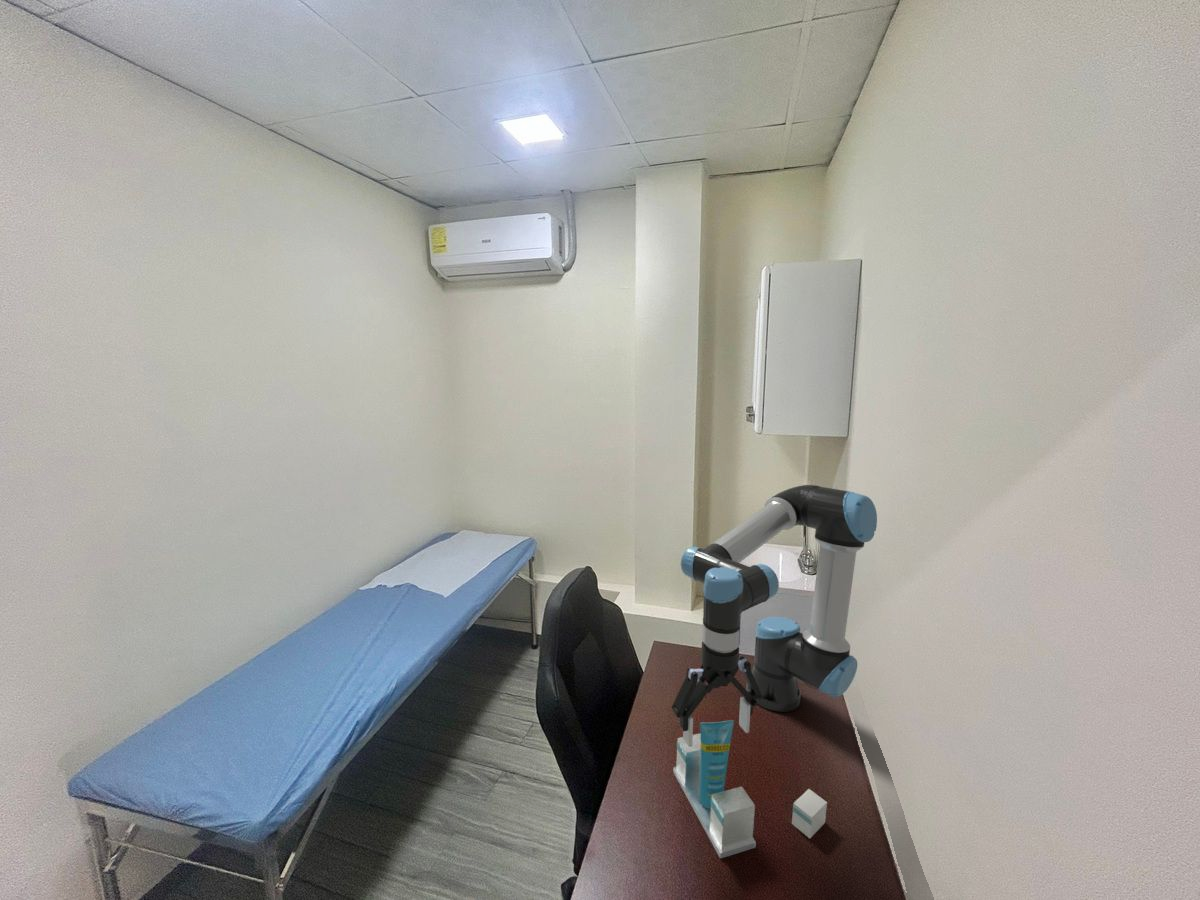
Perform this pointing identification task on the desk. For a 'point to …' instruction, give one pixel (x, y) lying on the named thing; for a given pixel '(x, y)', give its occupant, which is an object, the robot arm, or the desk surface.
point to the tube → (714, 758)
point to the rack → (716, 804)
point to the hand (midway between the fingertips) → (716, 735)
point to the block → (809, 813)
